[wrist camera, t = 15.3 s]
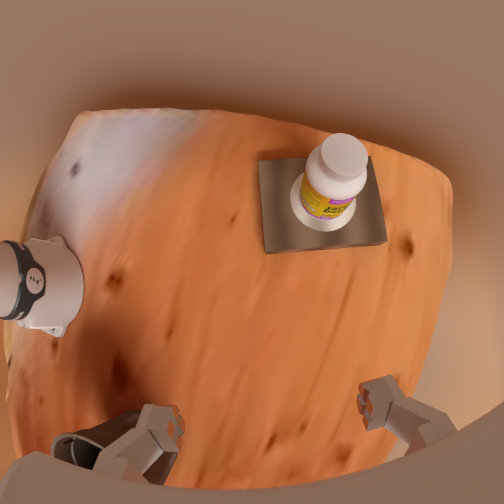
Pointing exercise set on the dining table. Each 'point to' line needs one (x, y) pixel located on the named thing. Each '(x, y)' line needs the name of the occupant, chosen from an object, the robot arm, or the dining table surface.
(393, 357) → the dining table surface
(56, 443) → the plant pot
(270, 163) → the walnut board
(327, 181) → the supplement bottle
